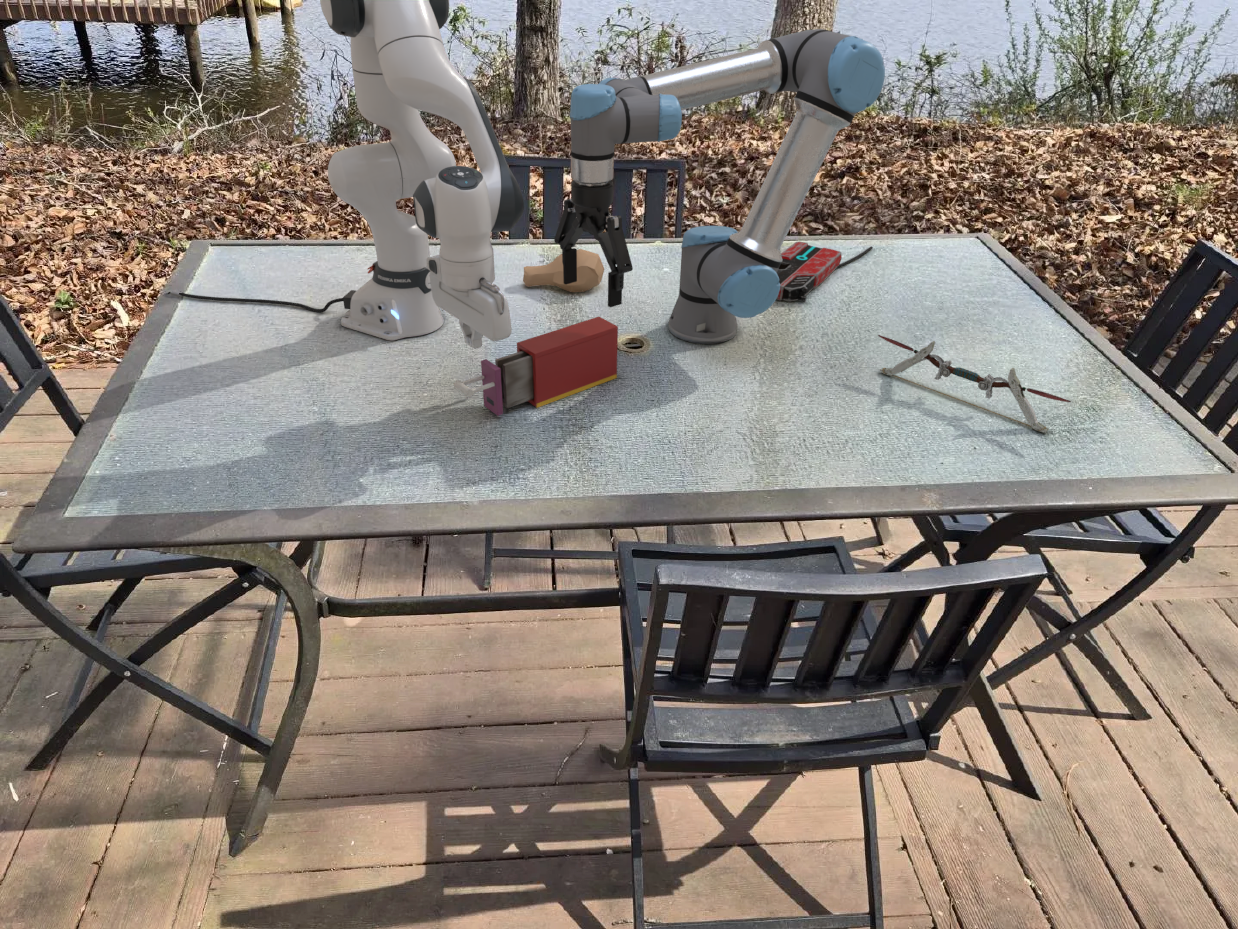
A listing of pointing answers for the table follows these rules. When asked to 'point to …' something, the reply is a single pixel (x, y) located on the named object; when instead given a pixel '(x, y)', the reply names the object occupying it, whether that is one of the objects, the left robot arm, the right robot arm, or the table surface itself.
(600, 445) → the table surface
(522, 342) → the red yellow-edged box
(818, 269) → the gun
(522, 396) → the drawer
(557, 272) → the squash
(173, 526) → the table surface
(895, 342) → the bow
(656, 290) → the table surface
